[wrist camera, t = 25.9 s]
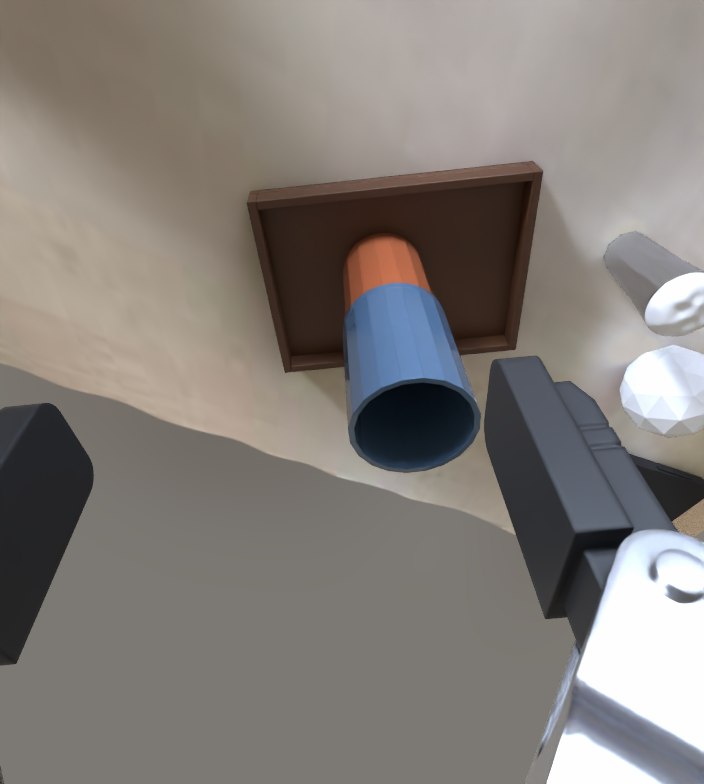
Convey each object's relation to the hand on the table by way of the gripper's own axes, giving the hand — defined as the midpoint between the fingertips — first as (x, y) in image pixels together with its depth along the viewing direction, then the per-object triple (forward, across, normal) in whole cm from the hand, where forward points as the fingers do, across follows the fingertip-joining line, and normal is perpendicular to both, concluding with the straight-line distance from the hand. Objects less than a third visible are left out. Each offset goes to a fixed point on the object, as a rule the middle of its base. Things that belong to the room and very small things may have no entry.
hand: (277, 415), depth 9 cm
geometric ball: (+28, -28, +24) cm, 46 cm away
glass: (+20, -4, +11) cm, 23 cm away
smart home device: (+28, -29, +41) cm, 57 cm away
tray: (+28, -5, +12) cm, 31 cm away
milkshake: (+28, -23, +12) cm, 38 cm away
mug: (+27, -4, +13) cm, 31 cm away
